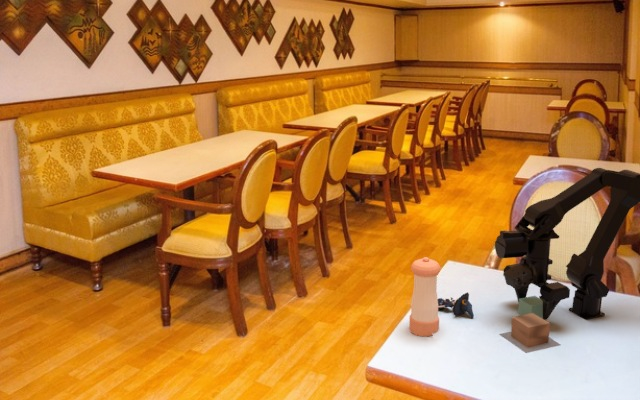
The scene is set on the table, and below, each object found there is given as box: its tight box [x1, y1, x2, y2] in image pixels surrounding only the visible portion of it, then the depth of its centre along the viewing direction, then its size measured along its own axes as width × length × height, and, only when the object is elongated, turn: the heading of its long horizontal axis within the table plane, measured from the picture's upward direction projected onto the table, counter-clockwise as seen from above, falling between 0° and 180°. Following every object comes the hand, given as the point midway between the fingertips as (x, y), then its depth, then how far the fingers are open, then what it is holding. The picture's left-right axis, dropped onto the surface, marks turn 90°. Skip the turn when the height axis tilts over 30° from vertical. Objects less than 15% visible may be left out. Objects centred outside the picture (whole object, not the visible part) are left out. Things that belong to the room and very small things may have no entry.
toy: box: [437, 292, 475, 319], centre depth 161 cm, size 8×7×15 cm
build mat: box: [498, 331, 562, 354], centre depth 145 cm, size 10×10×1 cm
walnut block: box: [510, 313, 551, 347], centre depth 144 cm, size 6×6×5 cm
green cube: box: [517, 295, 543, 319], centre depth 156 cm, size 5×5×5 cm
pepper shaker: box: [408, 256, 441, 337], centre depth 149 cm, size 7×7×19 cm
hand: (532, 312), depth 157 cm, fingers open, 9 cm apart
